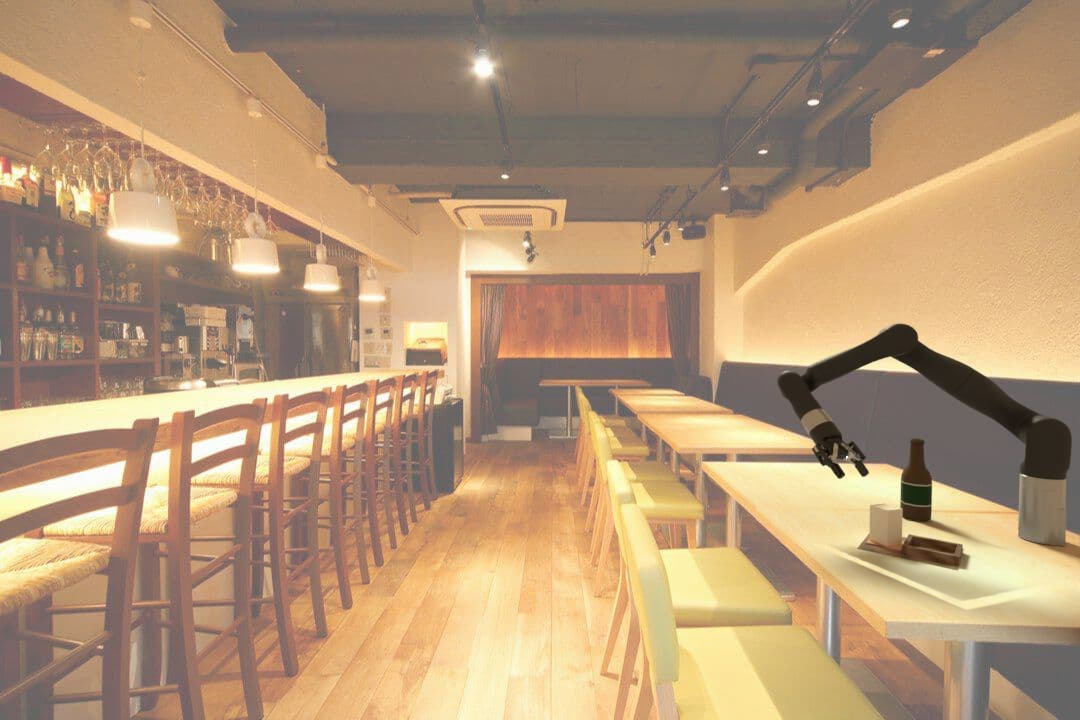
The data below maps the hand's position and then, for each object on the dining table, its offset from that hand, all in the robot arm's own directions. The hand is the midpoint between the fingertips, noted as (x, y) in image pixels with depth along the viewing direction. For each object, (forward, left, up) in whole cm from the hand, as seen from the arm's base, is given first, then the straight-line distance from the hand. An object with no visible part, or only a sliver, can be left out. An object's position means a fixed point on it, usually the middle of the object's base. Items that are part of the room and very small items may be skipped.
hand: (854, 476), depth 148 cm
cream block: (-8, +5, -15) cm, 18 cm away
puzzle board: (-13, +5, -16) cm, 22 cm away
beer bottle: (-11, -31, -17) cm, 37 cm away
